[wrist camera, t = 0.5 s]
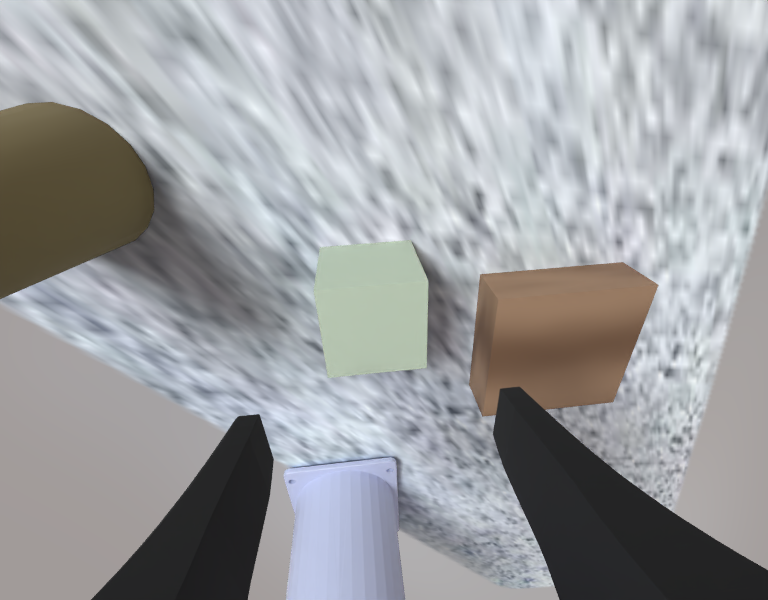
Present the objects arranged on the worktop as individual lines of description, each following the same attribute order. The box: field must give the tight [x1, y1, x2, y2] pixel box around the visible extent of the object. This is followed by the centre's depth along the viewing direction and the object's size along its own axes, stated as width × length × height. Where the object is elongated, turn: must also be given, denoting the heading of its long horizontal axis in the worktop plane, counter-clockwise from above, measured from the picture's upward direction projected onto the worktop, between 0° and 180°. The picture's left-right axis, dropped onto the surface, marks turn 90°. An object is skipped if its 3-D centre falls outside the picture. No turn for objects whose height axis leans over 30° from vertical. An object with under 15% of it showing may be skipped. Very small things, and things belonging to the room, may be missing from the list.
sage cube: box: [314, 240, 428, 378], centre depth 17 cm, size 4×4×4 cm
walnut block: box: [469, 262, 658, 416], centre depth 21 cm, size 8×8×3 cm
